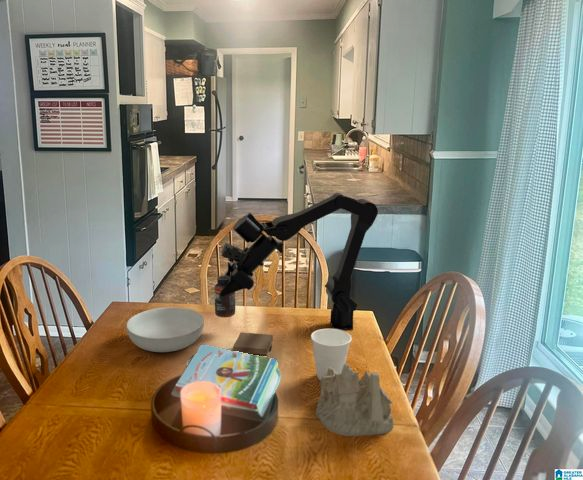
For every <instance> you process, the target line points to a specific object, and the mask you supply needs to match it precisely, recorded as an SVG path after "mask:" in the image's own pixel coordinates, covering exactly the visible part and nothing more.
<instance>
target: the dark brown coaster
mask: <svg viewBox="0 0 583 480" xmlns="http://www.w3.org/2000/svg"><path fill="white" fill-rule="evenodd" d="M273 340H274V335H273V334H267V333H266V334H265V333H254V332H241V331H240V333H239V335H238V337H237V338H236V340H235V342H234V344H233V345H232V352H233V351H239V352H244V353H243V354H256V355H261V356H267V357H268V353H269V352H271V351H272V349H273Z"/></svg>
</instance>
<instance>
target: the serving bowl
mask: <svg viewBox="0 0 583 480" xmlns="http://www.w3.org/2000/svg"><path fill="white" fill-rule="evenodd" d="M204 325H205V319H204V316H203V314H201V313H199V312H198V311H196V310H194V309H191V308H185V307H178V306H177V307H175V306H167V307H166V306H165V307H158V308H156V307H155V308H152V309H148V310H144V311H142V312H139V313H136V314H135V315H133V316H132V317H130V318H129V319H128V320H127V323H126V325H125V326H126V327H125V328H126V331H127V334H128V337H129V339H130V340H131V342H132V343H133V344H134V345H136V346H137V347H139V348H141V349H143V350H145V351H149V352H153V353H154V352H155V353H169V352H175V351H180V350H184V349H185V348H187V347H189V346H191V345H193V344H194V343H195V342H196V341H197V340H198V339H199V338H200V336H201V334H202V333H203V330H204Z"/></svg>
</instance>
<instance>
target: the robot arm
mask: <svg viewBox="0 0 583 480" xmlns="http://www.w3.org/2000/svg"><path fill="white" fill-rule="evenodd" d="M338 210H344V211H347V212H349V213H350V230H349V233H348V236H347V240H346V242H345V245H344V247H343V252H342V254H341V257H340V261H339V264H338V267H337V270H336V272H335V273H334V274H333V275H331V274H328V276H327V281H326V283H325V285H324V287H325V293H326V296H327V297H328V298H329V299H330V301H331V302H332V303H333V305H332V308H331V309H330V325H331V329H338V330H353V329H354V312H356V310H357V306H358V304H357V302H356V301H355V300H354V299H353V298H352V297H351V295H352V276H353V273H354V269H355V266H356V263H357V261H358V257H359V254H360V251H361V247H362V245H363V242H364V239H365V236H366V234H367V232H368V231H369V229H371V227H372V226H373V224H374V222H375V221H376V219H377V216H378V213H379V209H378V207H377V205H376V204H375V203H373V202H371V201H370V200H367V199H366V198H359V199H355V198H353V197H349V196H347V195H344V194H342V193H340V192H336V193H333V194H332V195H330V196H329V197H327V198H325V199H322V200H320V201H319V202H317V203H314V204H312V205H310V206H307V208H304V209H302V210H301V211H298V212H295V213H289V214H285V215H281V216H278V217H275V218H274V219H272V220H271V221H266V222H260V221H259V220H258V219H256V217H255V216H254V215H253V214H252V213H251V212H248V213H247V214H245V215H244V216H242V217H240V218H239V219H238V220H237V221H236V222H235V223H234V225H233V226H232V230H233V231H234V232H235V233H236V235H238V236H239V237H240V238H241V239H243V241H244V242H246V243H247V244H248V243H252V244H251V246H249V247H248V246H247V247H244V248H243V249H242V248H240V247H237V246H235V245H233V244H230V243H228V242H225V243H224V245H223V247H222V250H221V251H220V254H221V257H223V258H225V259H227V264H226V265H227V270H226V272H225V274H224V276H230V280H229V281H228V283H227V284H226V285H225V287H224V288H223V289H222V291H221V292H220V295H221V296H225V295H228V294H230V293H233V292H235V293H236V292H238V291H241V290H247V291H251V289H252V288H253V287H254V286H255V282H254V278H253V276H254V272H255V271H256V270H257V269H258V268H259V267H263V266H264V262H265V261H266V260H267V258H269V256H270V255H272V254H273V253H274V252H275V251H276V250H277V251H278V252H279V253H280V254H283V252H284V250H283V248H284V243H283V242H285V241H288V240H290V239H292V238H293V237H294V236H296V235H297V234H298V233H299V232H300V231H301V230H302V229H303V228H305V227H306V226H308V225H310V224H312V223H315V222H316V221H318V220H319V219H322V218H324V217H327V216H328V215H330V214H332V213H334V212H337V211H338ZM276 239H277V240H276Z"/></svg>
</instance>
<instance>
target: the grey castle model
mask: <svg viewBox="0 0 583 480" xmlns="http://www.w3.org/2000/svg"><path fill="white" fill-rule="evenodd" d="M318 385H319V387H320V395H319V398H318V401H317V404H316V409H315V415H316V417H317V419H318V420H319V421H320V423H321V424H322V425H323V427H325V429H327V430H329V431H330V432H332V433H334V434H336V435H340V436H344V437H360V436H361V437H362V436H374V435H375V436H377V435H385V434H388V433H390V432H392V431H393V429H394V427H395V424H394V419H393V418H394V417H393V414H392V407H391V405H390V404H392V403H393V400H392V399H391V398H390V397H389V396H388V394H387V393H386V391H385V390H384V389H383V388H382V387H381V386H380V385H381V384H380V374H379V373H378V372H376V371H373V372H370V373H369V372H368V371H365V372H364V374H363V375H362V376H361V378H360V379H359V372H358V371H353V368H352V367H350V365H349V363H347V362H345V364H344V366H343V369H342V373H341V374H338V373H337V372H336V370H334V369H333V368H332V367H329V368H328V372H327V374H325V376H323V377H322V378H321V380H319V383H318Z"/></svg>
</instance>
